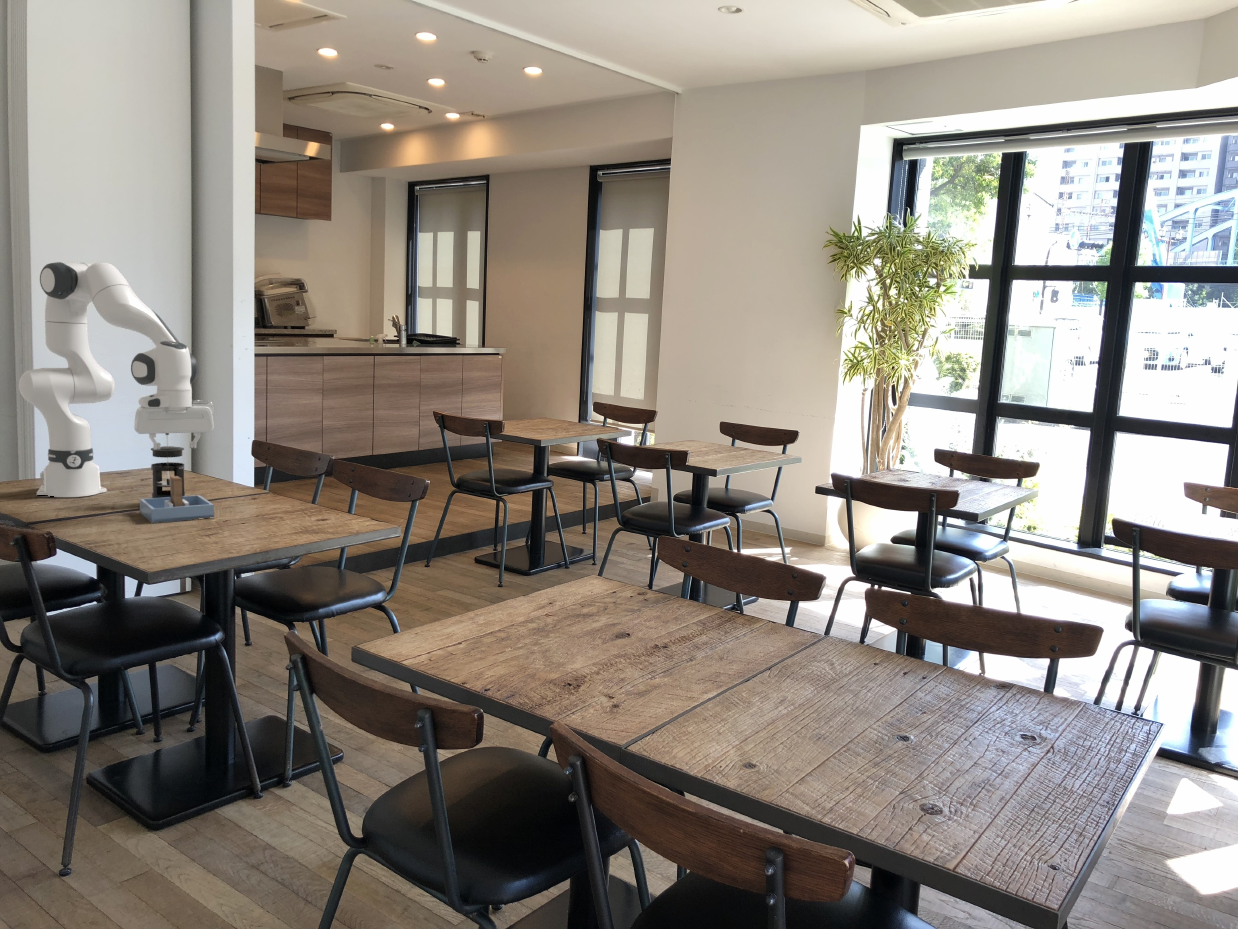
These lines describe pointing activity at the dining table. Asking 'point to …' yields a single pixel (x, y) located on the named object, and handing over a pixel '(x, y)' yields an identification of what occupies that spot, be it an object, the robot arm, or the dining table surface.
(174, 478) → the brown wooden block
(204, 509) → the shallow blue crate
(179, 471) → the french press
